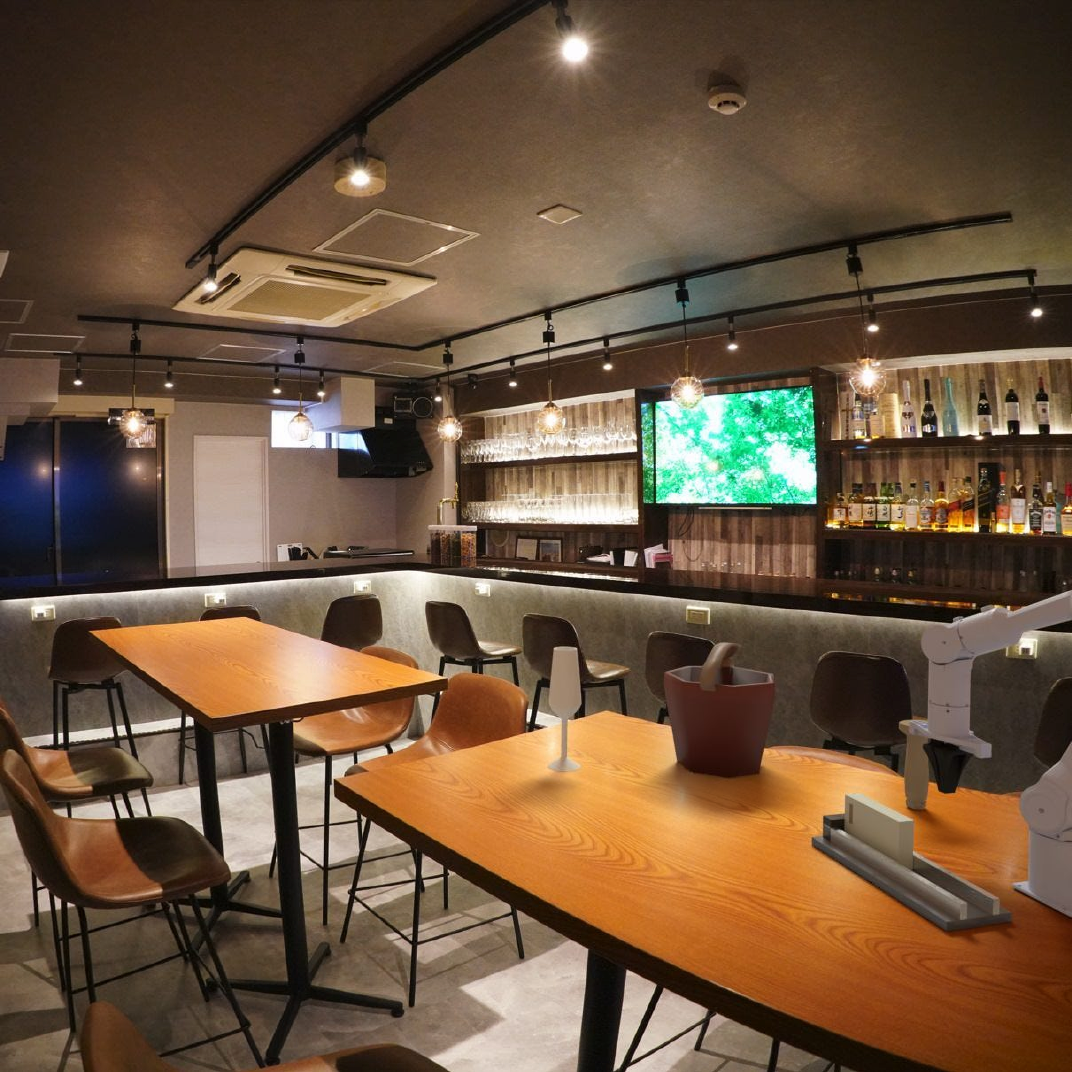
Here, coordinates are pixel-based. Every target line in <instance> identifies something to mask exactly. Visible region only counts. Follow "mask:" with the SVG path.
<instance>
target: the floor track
mask: <svg viewBox="0 0 1072 1072" xmlns="http://www.w3.org/2000/svg"><path fill="white" fill-rule="evenodd" d="M844 827H845V812H844V813H836V814H835V813H834V814H826V815H823V816H822V835H818V836H812V837H811V846H813V847H814V848H816V849H817V850H819V851H821V852H822V853H824V854H825V855H827V856H829V857H830V858H831V859H833V860H834V861H836V862H838V863H839V864H841V865H842V866H844V867H846V868H847V869H848V870H850V871H851V872H853V873H855V872H856V873H857V875H858V876H859V875H860V877H861V878H862V877H863V878H862V879H864V880H866V881H867V880H868V881H867V882H869V881H870V882H872V883H871V884H872V885H873V884H874V885H873V886H875V885H876V886H877V887H876V886H875V887H876V888H878V887H880V888H879V889H880V890H881V889H882V890H881V891H882V892H884V891H885V892H884V893H886V894H888V895H889V896H890V895H891V897H892V896H893V897H892V898H893V899H895V900H897V901H899V902H900V903H901V904H903V905H905V907H908V908H909V909H911V910H913V911H914V912H915V913H917V914H918V915H920V916H922V917H923V918H925V919H927V920H928V921H929V922H931V923H933V924H934V925H936V927H939V928H940V929H942V930H943V931H945V932H952V931H960V930H967V929H972V928H974V929H975V928H978V927H985V926H986V927H987V926H993V925H999V924H1006V923H1012V922H1013V912H1012V911H1011V910H1009V909H1007V908H1005V907H1003V906H1001V905H1000V900H1001V899H1000V897H998V896H996V895H994V894H993V893H990V892H989V891H987V890H985V889H983V888H981V886H980V887H979V886H978V885H975V884H974V883H972V882H970V881H969V880H967V879H965V878H963V877H961V876H960V875H957V874H956V873H954V872H953V871H950V870H948V869H947V868H945V867H943V866H942V865H939V864H937V863H936V862H934V861H932V860H930V859H928V858H926V857H925V856H923V855H921V854H919V853H917V852H915V851H914V850H913V869H912V870H909V869H908V868H906V867H904V866H902V865H901V864H899V863H897V862H896V861H894V860H892V859H890V858H889V857H887V856H885V855H883V854H882V853H880V852H878V851H877V850H875V849H873V848H871V847H870V846H868V845H866V844H865V843H863V842H861V841H859V840H858V839H856V838H854V837H853V836H851V835H849V834H847V833H846V832H844ZM856 873H855V874H856ZM870 882H869V883H870Z"/></svg>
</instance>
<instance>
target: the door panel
mask: <svg viewBox="0 0 1072 1072" xmlns="http://www.w3.org/2000/svg"><path fill="white" fill-rule="evenodd" d="M844 813H845V827H844V832H846V833H847V834H849V835H851V836H853V837H854V838H856V839H858V840H859V841H861V842H863V843H865V844H866V845H868V846H870V847H871V848H873V849H875V850H877V851H878V852H880V853H882V854H883V855H885V856H887V857H889V858H890V859H892V860H894V861H896V862H897V863H899V864H901V865H902V866H904V867H906V868H908V869H909V870H912V869H913V851H914V840H915V839H914V838H915V837H914V835H915V834H914V833H915V820H914V819H912V818H910V817H909V816H906V815H904V814H902V813H900V812H899V811H896V810H894V809H892V808H890V807H888V806H886V805H885V804H882V803H880V802H878V801H876V800H875V799H872V798H870V797H868V796H866V795H864V794H862V793H859V792H856V793H847V794H846V793H845V794H844Z"/></svg>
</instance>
